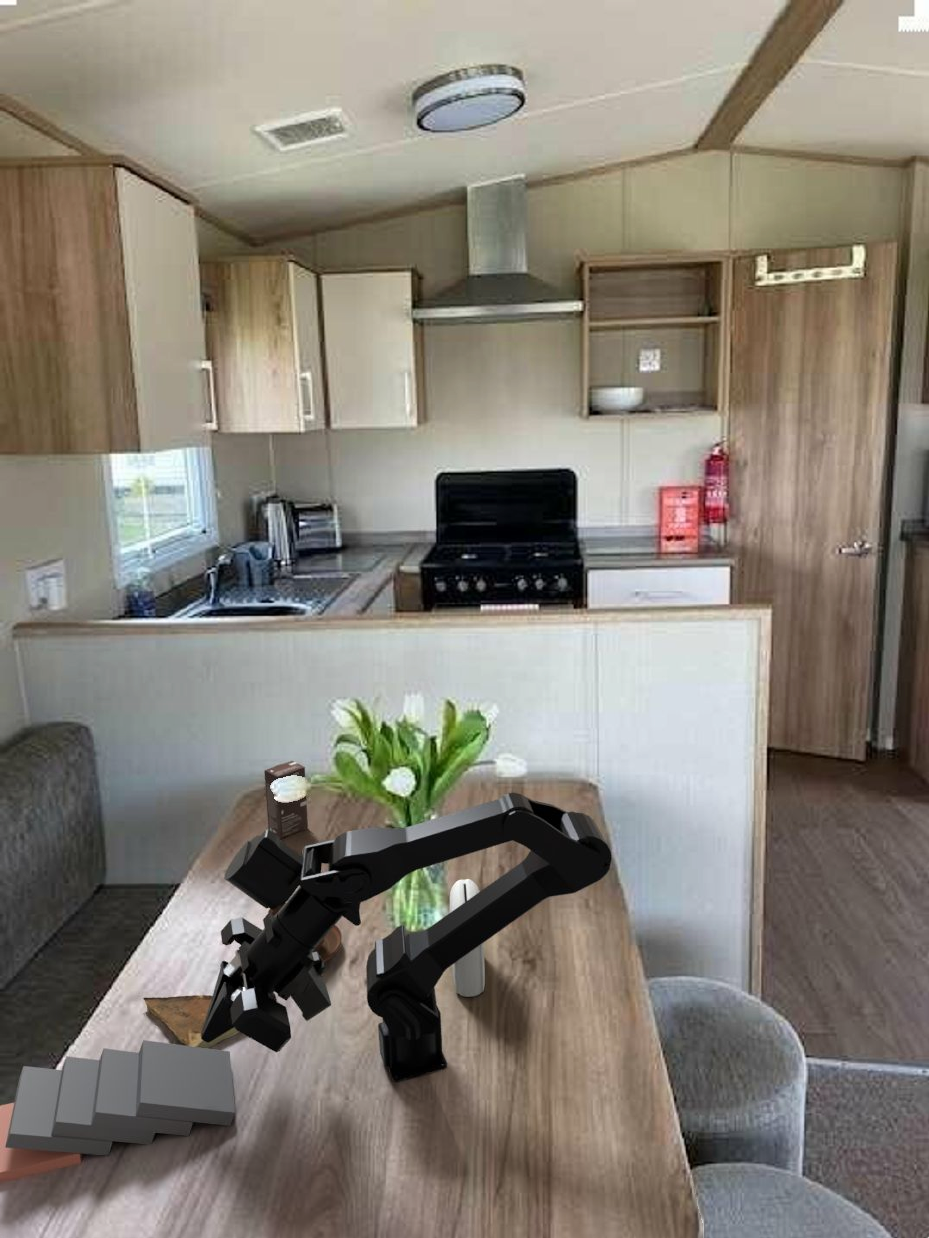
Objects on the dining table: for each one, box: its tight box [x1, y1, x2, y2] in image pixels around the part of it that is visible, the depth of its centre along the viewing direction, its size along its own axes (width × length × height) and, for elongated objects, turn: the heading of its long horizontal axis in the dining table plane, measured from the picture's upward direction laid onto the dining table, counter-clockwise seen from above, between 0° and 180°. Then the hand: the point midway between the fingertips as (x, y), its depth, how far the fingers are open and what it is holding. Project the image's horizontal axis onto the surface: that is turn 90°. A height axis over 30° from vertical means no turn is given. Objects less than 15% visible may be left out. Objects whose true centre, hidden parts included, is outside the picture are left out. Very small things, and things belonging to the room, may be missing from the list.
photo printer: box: [449, 878, 486, 998], centre depth 123 cm, size 10×4×12 cm, turn 2°
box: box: [264, 760, 309, 839], centre depth 165 cm, size 6×4×12 cm
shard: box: [143, 994, 240, 1049], centre depth 118 cm, size 13×9×2 cm
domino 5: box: [136, 1039, 236, 1126], centre depth 103 cm, size 2×10×10 cm
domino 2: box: [0, 1102, 83, 1183], centre depth 99 cm, size 2×10×10 cm
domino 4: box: [91, 1047, 194, 1137], centre depth 102 cm, size 2×10×10 cm
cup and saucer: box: [267, 903, 343, 963], centre depth 130 cm, size 12×12×6 cm
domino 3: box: [51, 1055, 156, 1145], centre depth 101 cm, size 2×10×10 cm
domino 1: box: [5, 1065, 114, 1156], centre depth 99 cm, size 2×10×10 cm
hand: (204, 1039), depth 103 cm, fingers closed
